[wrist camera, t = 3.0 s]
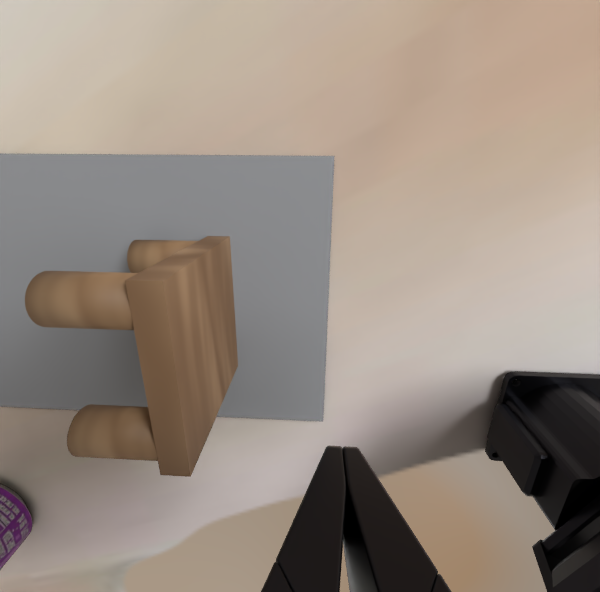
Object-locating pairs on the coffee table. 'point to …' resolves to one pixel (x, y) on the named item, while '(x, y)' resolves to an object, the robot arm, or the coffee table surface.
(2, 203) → the felt mat
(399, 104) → the coffee table surface
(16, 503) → the beverage can
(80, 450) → the stool
